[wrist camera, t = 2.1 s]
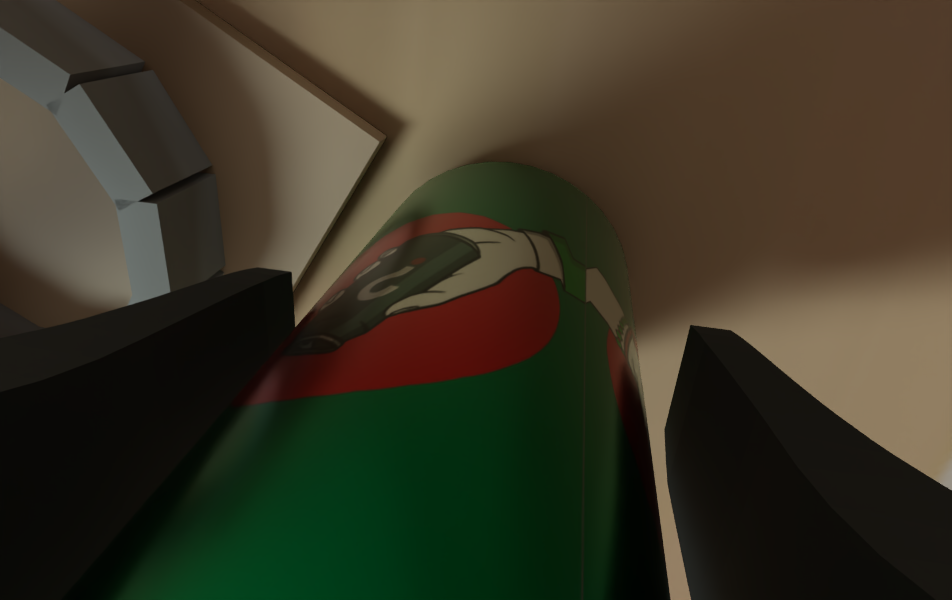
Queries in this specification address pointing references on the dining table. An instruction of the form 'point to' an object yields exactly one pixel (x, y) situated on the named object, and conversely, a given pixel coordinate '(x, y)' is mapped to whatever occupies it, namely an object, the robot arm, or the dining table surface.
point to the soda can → (428, 425)
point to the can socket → (156, 157)
